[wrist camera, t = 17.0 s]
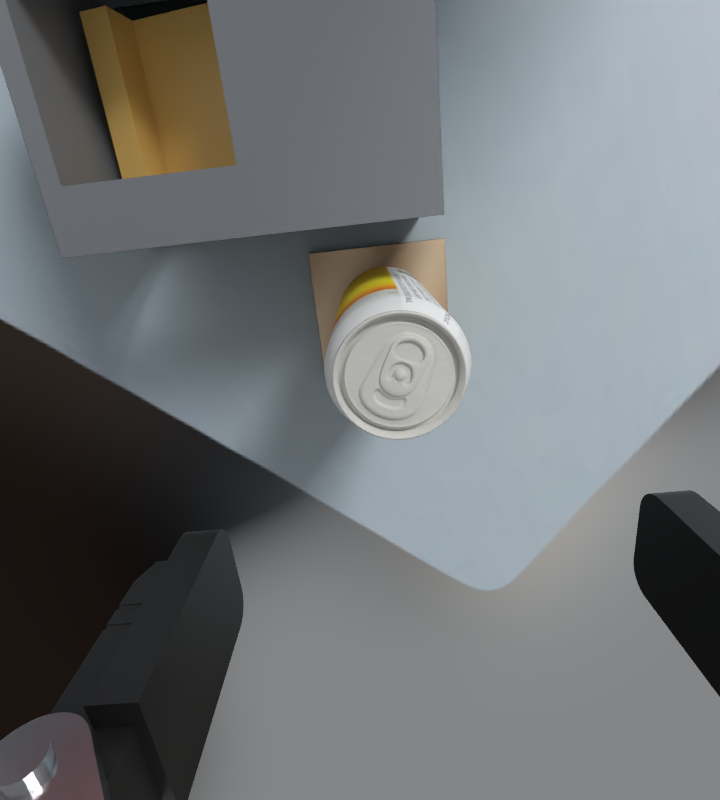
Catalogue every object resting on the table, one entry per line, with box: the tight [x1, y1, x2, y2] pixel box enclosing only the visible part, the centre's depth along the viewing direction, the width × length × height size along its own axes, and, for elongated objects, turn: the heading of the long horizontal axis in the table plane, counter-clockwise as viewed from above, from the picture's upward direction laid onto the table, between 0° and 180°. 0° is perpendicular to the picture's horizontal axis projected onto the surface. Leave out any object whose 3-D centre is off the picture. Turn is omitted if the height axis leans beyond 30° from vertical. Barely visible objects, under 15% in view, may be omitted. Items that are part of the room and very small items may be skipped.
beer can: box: [324, 267, 471, 440], centre depth 25 cm, size 6×6×15 cm
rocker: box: [79, 3, 237, 179], centre depth 24 cm, size 14×9×3 cm, turn 96°
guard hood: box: [0, 0, 444, 258], centre depth 24 cm, size 18×14×10 cm
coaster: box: [308, 239, 448, 363], centre depth 33 cm, size 9×9×1 cm
